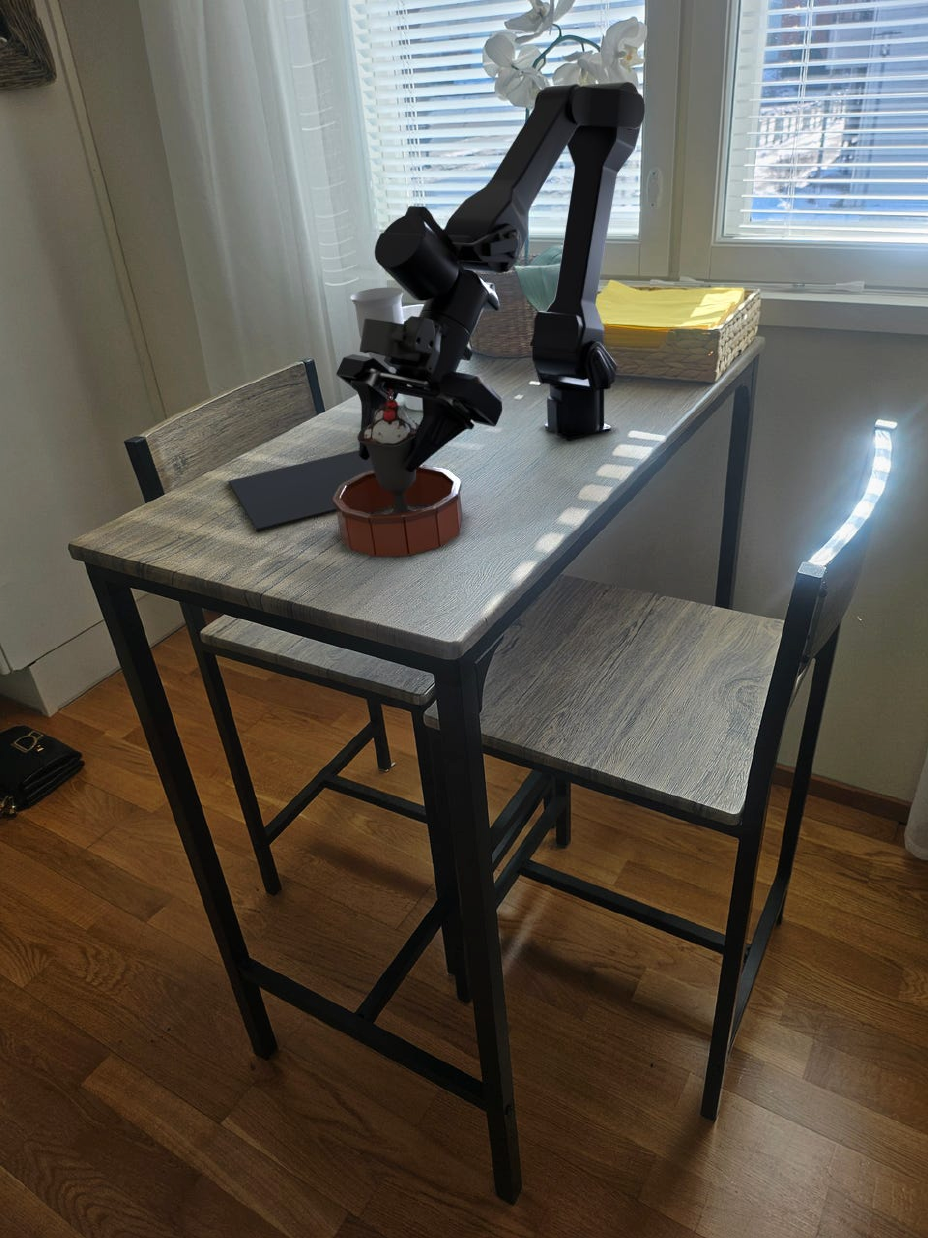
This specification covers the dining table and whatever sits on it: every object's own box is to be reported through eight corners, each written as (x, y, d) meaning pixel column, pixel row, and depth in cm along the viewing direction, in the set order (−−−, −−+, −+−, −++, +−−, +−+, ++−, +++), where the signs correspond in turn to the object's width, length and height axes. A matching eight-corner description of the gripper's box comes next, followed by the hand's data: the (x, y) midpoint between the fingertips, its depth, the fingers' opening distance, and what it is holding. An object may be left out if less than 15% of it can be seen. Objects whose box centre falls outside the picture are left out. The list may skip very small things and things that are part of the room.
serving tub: (435, 492, 102) (431, 455, 99) (483, 535, 91) (480, 496, 89) (326, 520, 98) (319, 483, 95) (363, 569, 87) (357, 528, 85)
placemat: (379, 447, 115) (379, 445, 115) (425, 489, 103) (424, 485, 102) (228, 483, 109) (228, 480, 109) (257, 532, 97) (256, 528, 96)
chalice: (412, 439, 117) (395, 299, 107) (363, 440, 118) (342, 301, 109) (425, 420, 123) (410, 286, 113) (378, 421, 124) (359, 288, 115)
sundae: (411, 540, 90) (391, 398, 82) (359, 529, 93) (336, 391, 85) (445, 514, 95) (430, 376, 87) (395, 504, 98) (376, 371, 90)
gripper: (334, 274, 89) (271, 413, 88) (473, 287, 78) (403, 447, 78) (398, 332, 98) (342, 459, 97) (531, 352, 87) (469, 495, 87)
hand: (384, 464), depth 90 cm, fingers closed on sundae, 6 cm apart
